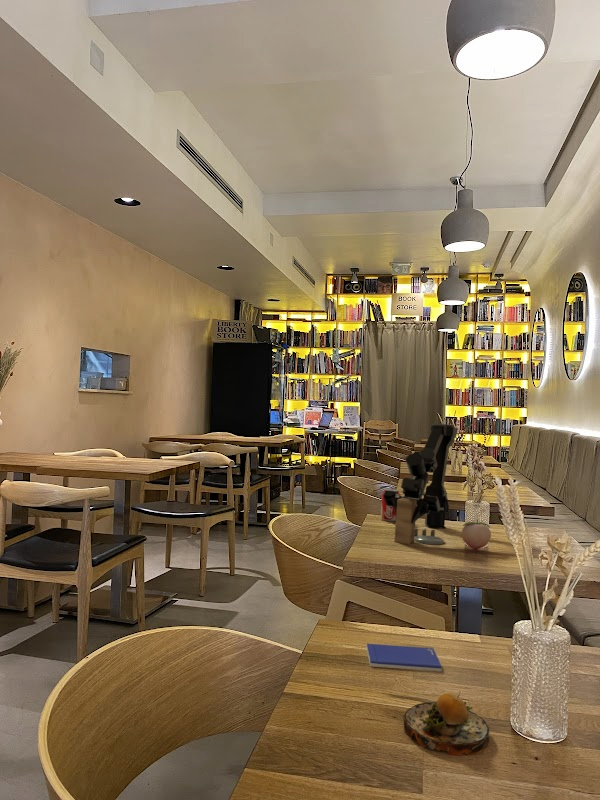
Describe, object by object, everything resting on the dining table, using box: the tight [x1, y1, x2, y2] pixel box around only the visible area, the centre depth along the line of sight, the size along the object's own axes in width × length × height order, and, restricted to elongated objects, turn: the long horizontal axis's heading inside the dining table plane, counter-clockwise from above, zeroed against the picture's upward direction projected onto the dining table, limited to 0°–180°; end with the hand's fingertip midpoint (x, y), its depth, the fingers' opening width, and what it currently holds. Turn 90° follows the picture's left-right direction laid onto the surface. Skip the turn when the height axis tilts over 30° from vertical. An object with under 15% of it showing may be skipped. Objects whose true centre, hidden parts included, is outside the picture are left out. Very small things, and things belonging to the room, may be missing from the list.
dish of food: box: [402, 692, 490, 757], centre depth 91 cm, size 12×12×8 cm
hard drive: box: [365, 643, 443, 672], centre depth 116 cm, size 2×8×12 cm
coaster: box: [414, 534, 445, 546], centre depth 217 cm, size 10×10×1 cm
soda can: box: [380, 488, 400, 523], centre depth 251 cm, size 7×7×12 cm
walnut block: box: [394, 498, 417, 545], centre depth 213 cm, size 5×5×14 cm
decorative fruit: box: [461, 518, 492, 551], centre depth 208 cm, size 9×8×10 cm
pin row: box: [414, 528, 436, 537], centre depth 224 cm, size 7×1×2 cm, turn 93°
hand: (404, 521), depth 212 cm, fingers closed on walnut block, 5 cm apart
